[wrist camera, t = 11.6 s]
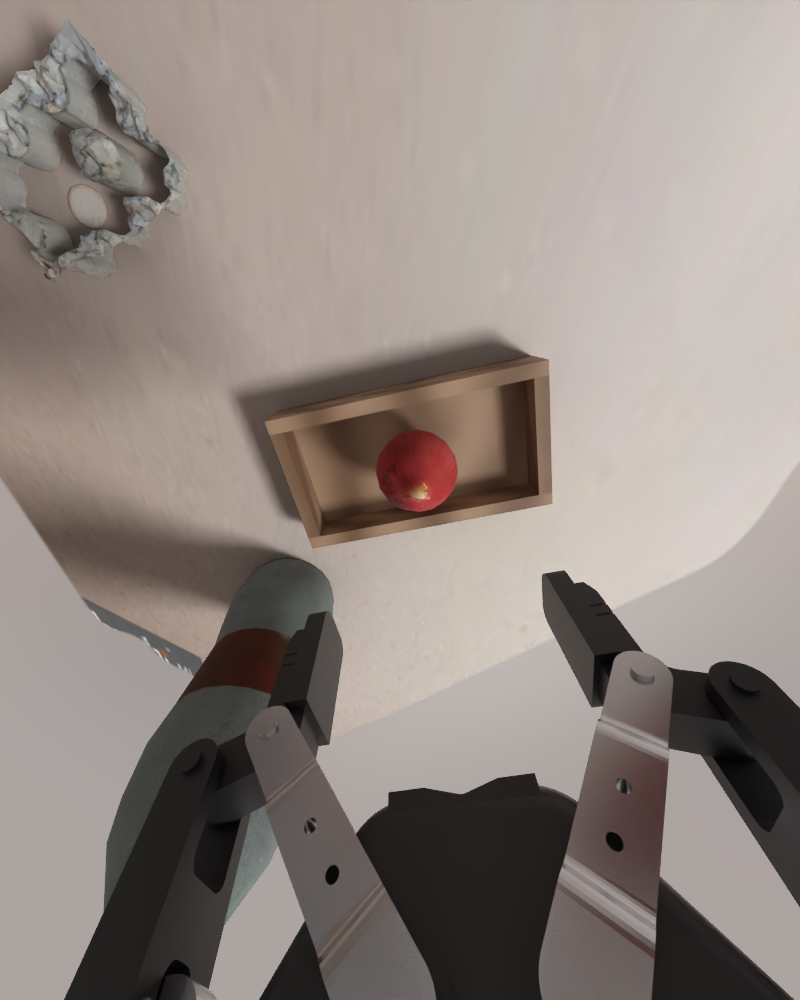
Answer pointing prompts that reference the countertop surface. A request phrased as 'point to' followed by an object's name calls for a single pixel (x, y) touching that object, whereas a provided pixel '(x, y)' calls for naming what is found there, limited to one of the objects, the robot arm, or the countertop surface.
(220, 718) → the bottle
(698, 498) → the countertop surface
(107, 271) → the egg carton
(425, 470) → the onion
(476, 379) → the wooden tray
